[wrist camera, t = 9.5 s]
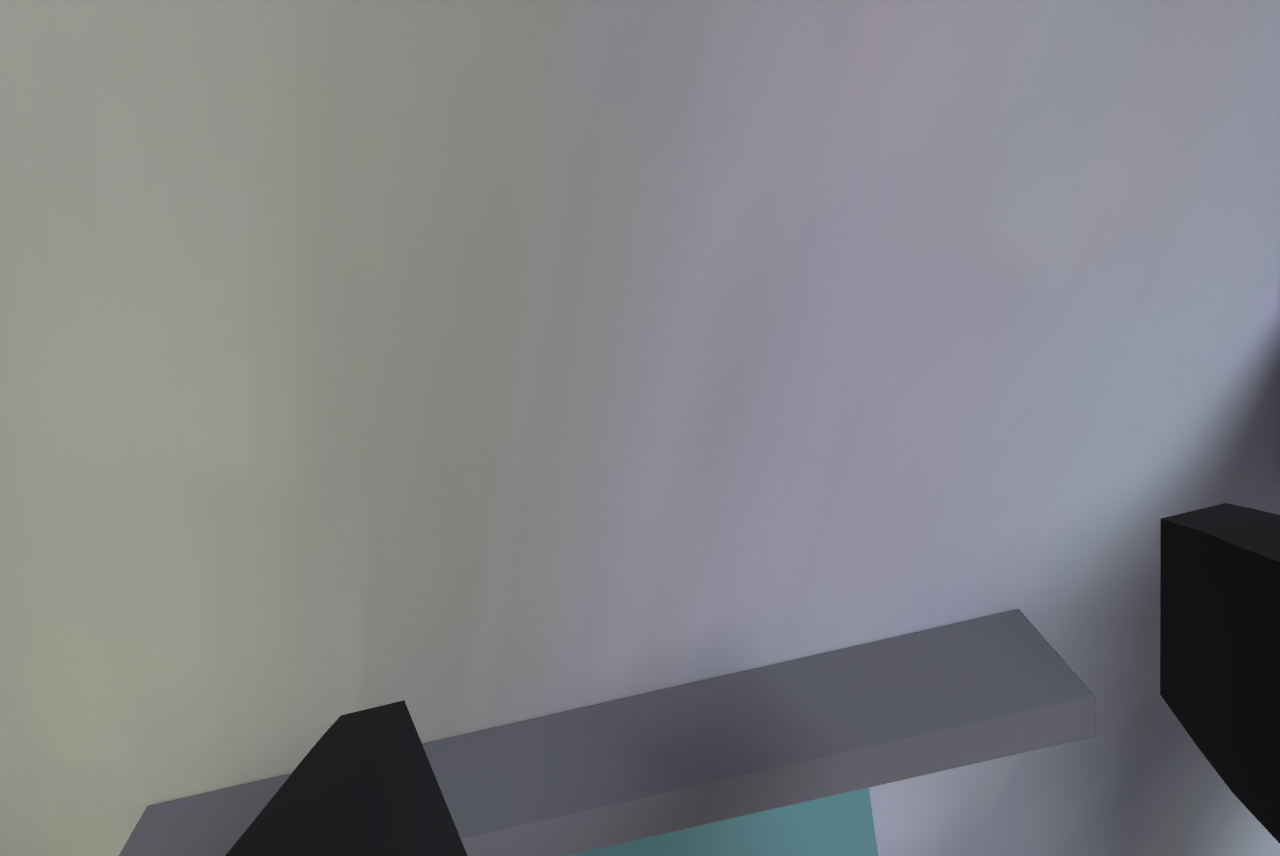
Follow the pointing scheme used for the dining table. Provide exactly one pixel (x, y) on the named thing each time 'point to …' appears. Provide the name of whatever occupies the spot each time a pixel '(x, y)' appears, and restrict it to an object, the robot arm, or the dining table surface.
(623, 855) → the mat
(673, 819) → the low wall
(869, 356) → the dining table surface
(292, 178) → the dining table surface
